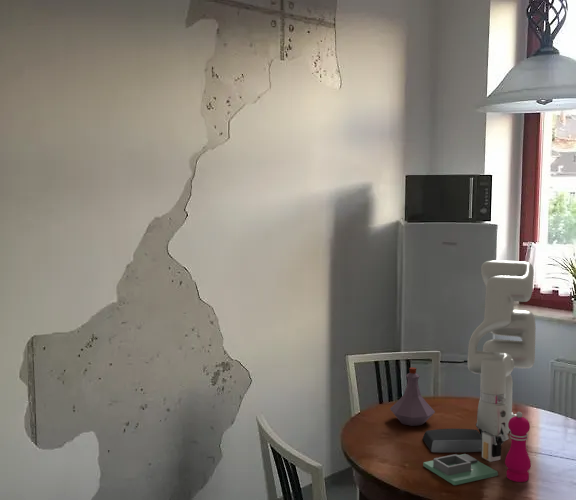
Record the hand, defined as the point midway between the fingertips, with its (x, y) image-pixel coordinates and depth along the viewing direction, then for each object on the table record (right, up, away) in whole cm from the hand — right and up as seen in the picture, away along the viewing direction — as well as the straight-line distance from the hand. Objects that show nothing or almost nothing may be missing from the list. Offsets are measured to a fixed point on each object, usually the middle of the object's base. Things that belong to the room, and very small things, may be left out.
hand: (491, 453), depth 213 cm
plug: (0, -2, 0) cm, 2 cm away
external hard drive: (-8, -1, +12) cm, 15 cm away
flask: (-19, +1, +34) cm, 39 cm away
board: (-12, -3, -9) cm, 16 cm away
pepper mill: (+3, -3, -14) cm, 15 cm away
